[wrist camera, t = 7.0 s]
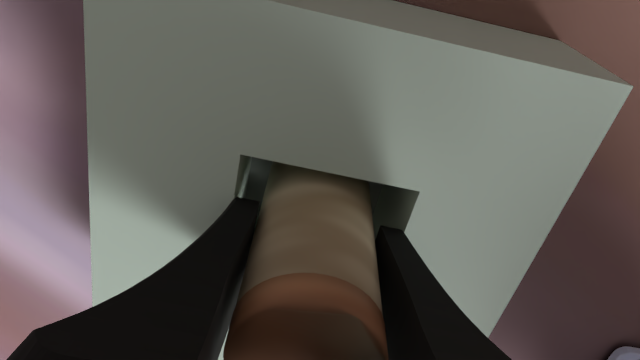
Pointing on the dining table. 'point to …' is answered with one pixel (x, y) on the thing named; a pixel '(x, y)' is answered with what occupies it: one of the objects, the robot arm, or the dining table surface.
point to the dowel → (310, 273)
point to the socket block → (336, 128)
